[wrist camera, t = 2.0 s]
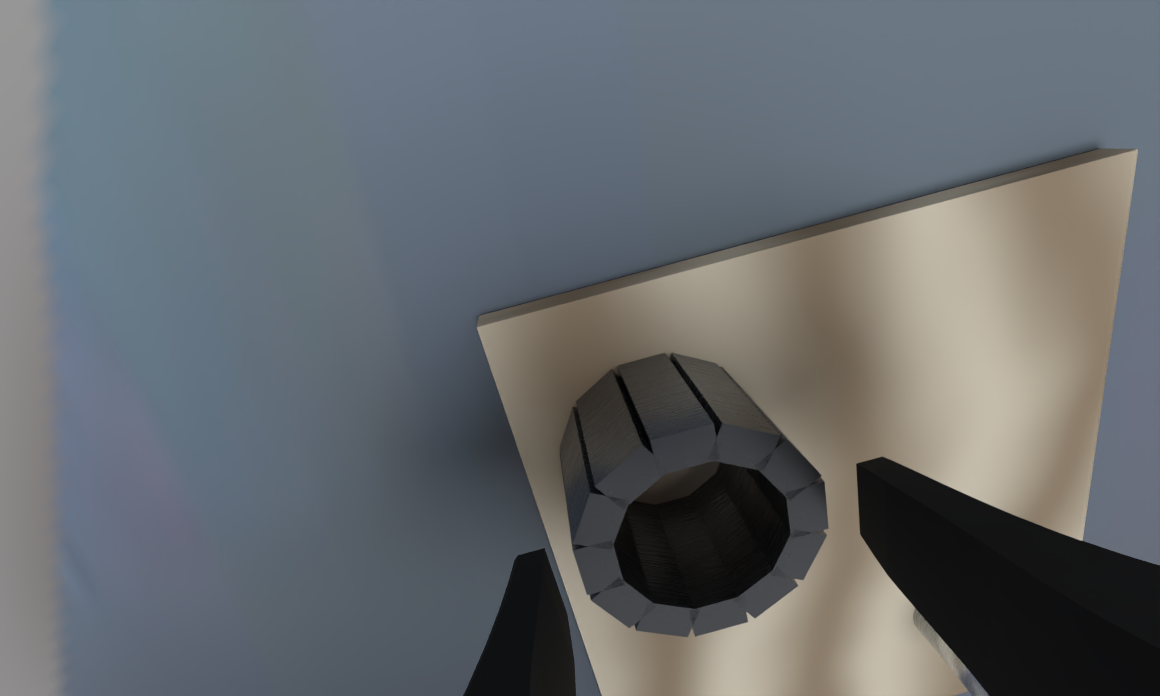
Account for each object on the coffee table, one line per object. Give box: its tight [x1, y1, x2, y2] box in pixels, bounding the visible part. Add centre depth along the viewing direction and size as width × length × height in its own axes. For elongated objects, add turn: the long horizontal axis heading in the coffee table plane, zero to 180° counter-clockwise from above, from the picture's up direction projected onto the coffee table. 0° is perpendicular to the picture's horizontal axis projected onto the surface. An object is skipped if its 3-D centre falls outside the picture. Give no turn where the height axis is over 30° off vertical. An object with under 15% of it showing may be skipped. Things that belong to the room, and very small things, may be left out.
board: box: [477, 149, 1138, 696], centre depth 18 cm, size 18×20×1 cm
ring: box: [560, 353, 829, 637], centre depth 14 cm, size 6×6×4 cm
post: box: [913, 608, 989, 696], centre depth 17 cm, size 3×3×5 cm
